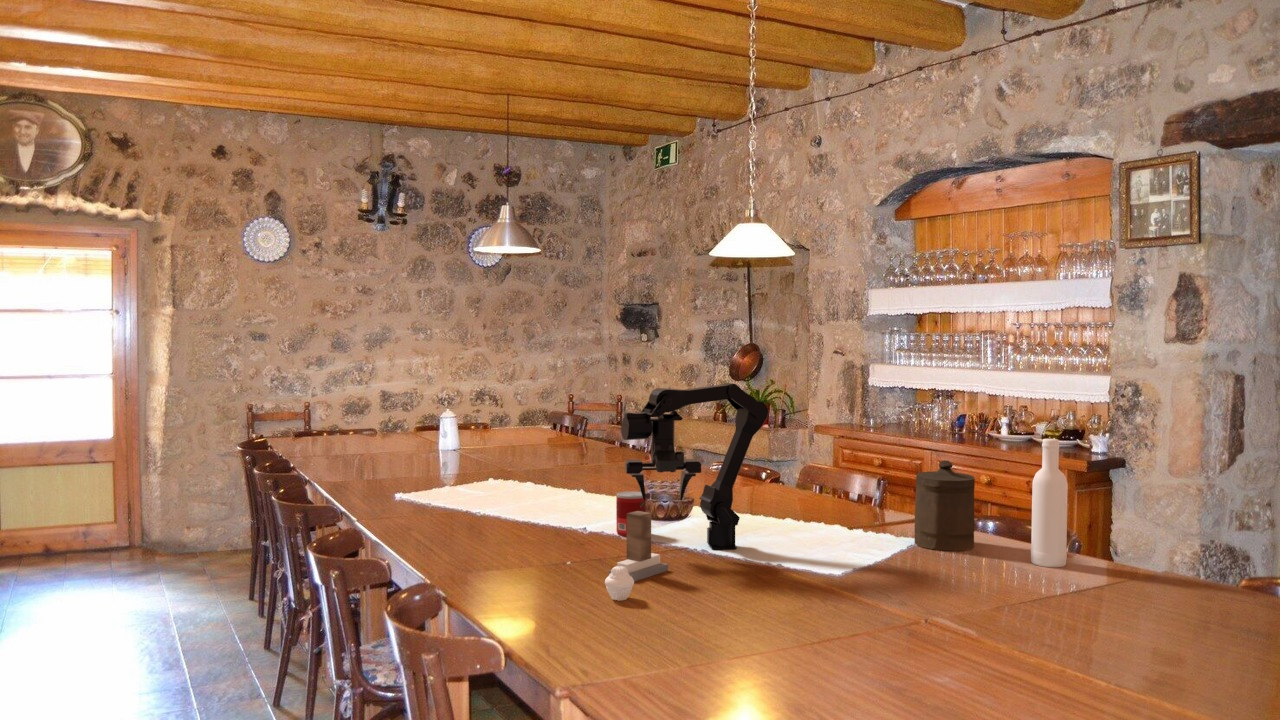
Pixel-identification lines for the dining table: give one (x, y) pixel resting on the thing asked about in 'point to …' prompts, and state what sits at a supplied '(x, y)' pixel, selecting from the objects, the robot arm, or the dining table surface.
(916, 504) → the wooden container
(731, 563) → the dining table surface
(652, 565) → the ridge block
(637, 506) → the canned food
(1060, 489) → the bottle
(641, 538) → the tall brown block
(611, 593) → the muffin
